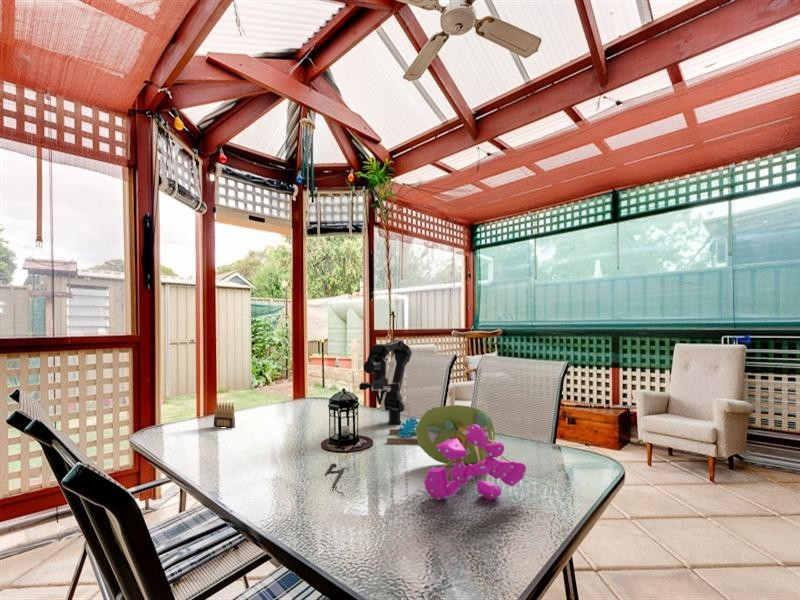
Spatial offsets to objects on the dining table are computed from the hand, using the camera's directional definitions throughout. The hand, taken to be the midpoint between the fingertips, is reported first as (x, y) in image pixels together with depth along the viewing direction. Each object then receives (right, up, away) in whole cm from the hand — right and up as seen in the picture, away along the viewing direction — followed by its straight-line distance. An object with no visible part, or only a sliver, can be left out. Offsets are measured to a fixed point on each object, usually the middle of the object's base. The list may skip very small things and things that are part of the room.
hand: (379, 404), depth 174 cm
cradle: (+13, -11, -12) cm, 21 cm away
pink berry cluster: (+30, -9, -59) cm, 67 cm away
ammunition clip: (-75, -13, +4) cm, 76 cm away
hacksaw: (-11, -9, -55) cm, 57 cm away
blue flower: (+14, -12, -10) cm, 20 cm away
